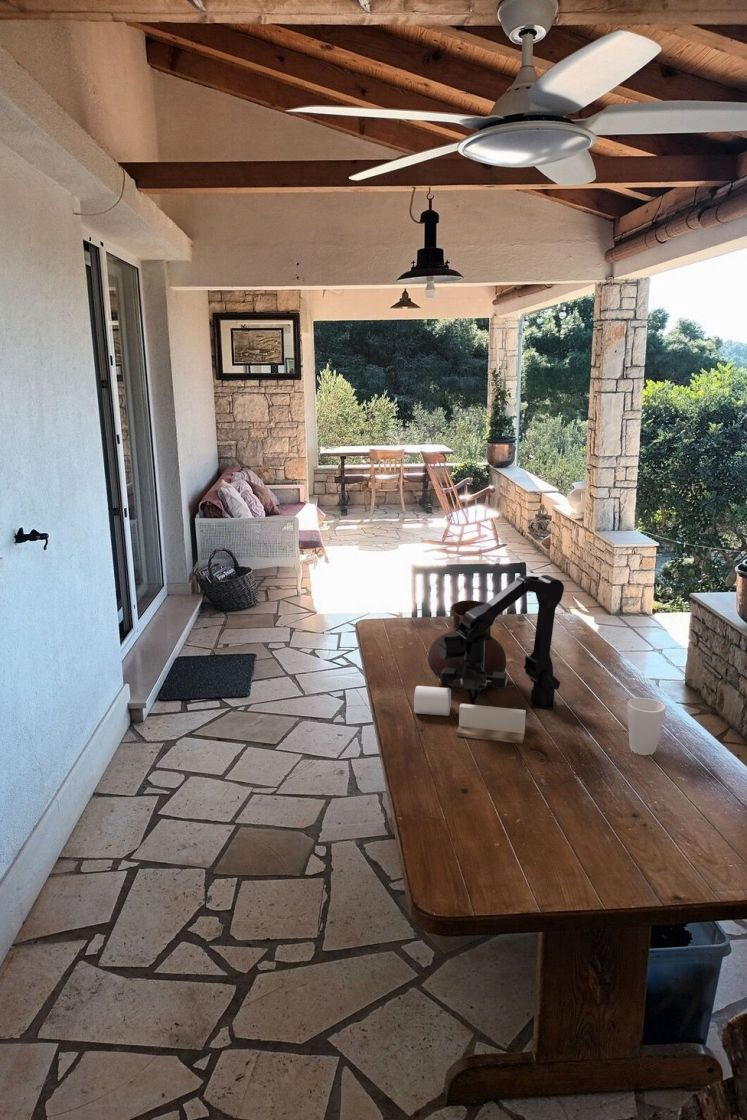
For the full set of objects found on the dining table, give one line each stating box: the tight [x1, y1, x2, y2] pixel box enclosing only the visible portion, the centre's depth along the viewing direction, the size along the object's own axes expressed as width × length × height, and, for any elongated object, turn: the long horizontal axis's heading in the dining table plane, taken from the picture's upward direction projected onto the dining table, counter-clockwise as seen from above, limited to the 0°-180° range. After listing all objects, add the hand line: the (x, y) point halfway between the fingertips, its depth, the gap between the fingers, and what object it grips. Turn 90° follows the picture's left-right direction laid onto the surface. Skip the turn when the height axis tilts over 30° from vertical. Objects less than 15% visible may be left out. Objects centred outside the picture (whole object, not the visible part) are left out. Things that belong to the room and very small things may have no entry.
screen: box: [456, 703, 527, 745], centre depth 215 cm, size 18×6×7 cm, turn 75°
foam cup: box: [626, 697, 667, 756], centre depth 205 cm, size 10×9×13 cm
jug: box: [427, 599, 507, 690], centre depth 249 cm, size 25×25×25 cm
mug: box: [413, 685, 452, 717], centre depth 231 cm, size 12×10×8 cm
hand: (473, 705), depth 228 cm, fingers closed
